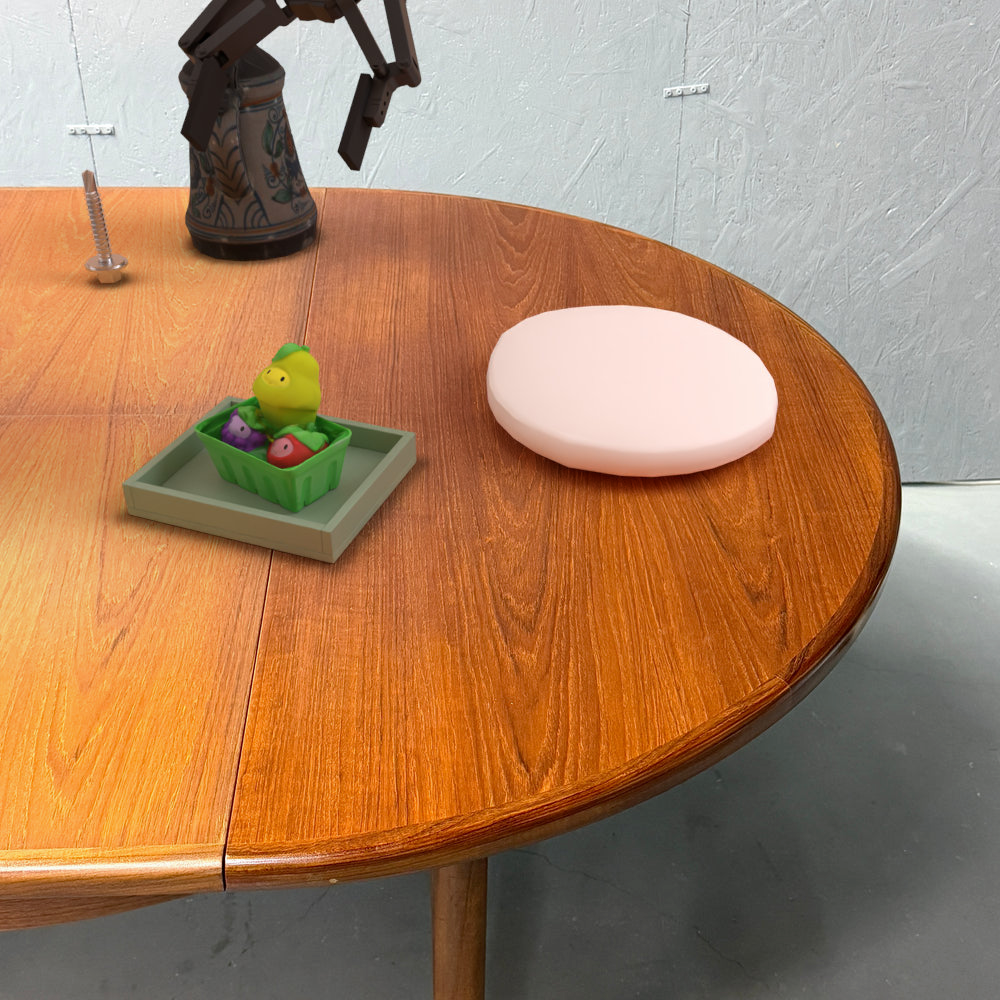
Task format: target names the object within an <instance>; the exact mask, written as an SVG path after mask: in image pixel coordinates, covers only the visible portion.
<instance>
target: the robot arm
mask: <svg viewBox="0 0 1000 1000" xmlns="http://www.w3.org/2000/svg"><path fill="white" fill-rule="evenodd" d="M361 1H362V0H283V2H284V4H285V6H284V7H281V6H280V5H279V3H278V1H277V0H211V1H210V2H209V3H208V4H207V5H206V7H204V9H203V10H202V11H201V12H200V13H199V15H198V16H197V17H196V18H195V20H194V21H193V22H192V23H191V24H190V25H189V26H188V28H187V29H186V30H185V31H184V33H183V34H182V35H181V36H180V38H179V39H178V41H177V45H178V48H180V50H181V51H182V52H183V53H184V54H185V56H186V57H187V58H188V60H189V59H190V60H191V61H192V62H193V63H194V65H195V66H194V69H193V72H192V75H191V78H190V81H189V85H188V87H187V91H186V94H185V95H186V99H187V100H188V99H189V101H190V104H188V108H187V111H186V114H185V116H184V120H183V122H182V126H181V129H180V135H182V136H183V138H184V139H185V140H186V141H187V142H188V144H189V143H190V144H191V145H192V146H193V147H194V148H195V149H196V150H197V151H201V152H206V150H207V147H208V144H209V141H210V138H211V135H212V131H213V128H214V125H215V122H216V119H217V116H218V113H219V110H220V106H221V103H222V100H223V97H224V94H225V91H226V88H227V85H228V81H229V78H228V77H227V76H226V74H225V73H224V72H223V71H224V70H226V69H227V68H228V67H229V66H231V65H232V64H233V63H234V62H235V61H237V60H238V59H239V58H240V57H242V56H243V55H244V54H245V53H247V52H248V51H249V50H250V49H252V48H253V47H254V46H255V45H257V46H258V44H260V42H262V41H263V40H264V39H266V37H268V36H269V35H271V34H272V33H273V32H274V31H275V30H276V29H278V28H279V27H283V28H284V27H287V26H289V25H290V24H292V23H293V22H294V21H295V20H296V19H298V21H299V22H300V21H301V22H313V21H320V22H322V23H326V24H335V23H336V21H338V20H340V19H342V18H343V17H344V19H345V21H346V23H347V25H348V26H349V28H350V31H351V32H352V34H353V36H354V38H355V40H356V42H357V44H358V46H359V48H360V50H361V51H362V54H363V56H364V58H365V60H366V62H367V64H368V65H369V68H370V70H371V71H372V73H373V76H372V75H371V74H370V73H367V72H366V73H365V72H364V73H363V72H361V73H360V74H359V79H358V81H357V84H356V87H355V91H354V95H353V98H352V100H351V104H350V107H349V111H348V114H347V118H346V120H345V123H344V129H343V131H342V135H341V137H340V141H339V144H338V147H337V150H336V151H337V154H338V155H339V157H340V158H341V159H342V160H343V162H344V163H345V164H346V166H347V167H348V169H349V170H350V171H355V172H360V171H361V167H362V165H363V161H364V158H365V154H366V151H367V148H368V144H369V141H370V137H371V134H372V130H373V128H376V129H381V127H383V124H384V123H385V120H386V117H387V113H388V110H389V108H390V103H391V101H392V97H393V94H394V92H396V91H397V90H398V88H400V87H406V86H407V87H409V88H413V89H415V88H417V87H419V86H420V85H421V83H422V75H421V69H420V65H419V60H418V55H417V51H416V46H415V42H414V41H415V40H414V36H413V32H412V27H411V23H410V18H409V13H408V7H407V0H382V2H383V6H384V11H385V17H386V21H387V25H388V30H389V35H390V39H391V45H392V50H393V56H394V60H395V61H391V62H387V60H386V58H385V56H384V54H383V52H382V50H381V48H380V46H379V44H378V43H377V40H376V38H375V37H374V35H373V33H372V32H371V29H370V27H369V26H368V22H367V21H366V20H365V17H364V15H363V14H362V12H361V10H360V7H359V6H358V4H359V3H360V2H361ZM217 52H218V55H217V56H215V53H217Z"/></svg>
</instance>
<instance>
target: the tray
mask: <svg viewBox="0 0 1000 1000" xmlns="http://www.w3.org/2000/svg"><path fill="white" fill-rule="evenodd" d="M245 400H247V398H240V397H235V396H233V395H232V396H231V395H226V397H225V398H224V399H222V400H221V401H220V402H219V403H217V404H216V405H215V406H214V407H213V408H211V409H210V410H209V411H208V412H206V413H205V414H204V415H203V416H201V417H200V418H199V419H198V420H197V421H196V422H195V423H193V424H192V425H191V426H190V427H188V428H187V429H186V430H185V431H184V432H183V433H181V434H180V435H179V436H178V437H176V438H175V439H174V440H173V441H171V442H170V443H169V444H168V445H167V446H165V447H164V448H163V449H161V451H160V452H158V453H156V455H155V456H153V457H152V458H150V460H148V461H147V462H146V463H145V464H144V465H143V466H141V467H140V468H139V469H138V470H137V471H136V472H134V473H133V474H131V476H129V477H128V478H127V479H126V480H125V481H123V482H122V483H121V487H122V492H123V495H124V496H123V497H124V500H125V504H126V509H127V514H128V515H130V516H133V517H138V518H143V519H146V520H151V521H155V522H159V523H163V524H168V525H172V526H175V527H180V528H184V529H188V530H192V531H195V532H196V531H197V532H201V533H204V534H208V535H211V536H212V535H213V536H216V537H221V538H225V539H230V540H233V541H238V542H242V543H246V544H251V545H254V546H258V547H263V548H266V549H271V550H275V551H278V552H279V551H280V552H283V553H287V554H292V555H294V556H295V555H296V556H300V557H304V558H308V559H312V560H316V561H319V562H320V561H321V562H324V563H329V564H332V565H333V564H334V563H335V562H336V561H337V560H338V559H339V558H340V557H341V555H342V554H343V553H344V552H345V550H346V549H347V548H348V547H349V545H350V544H351V543H352V542H353V540H354V539H355V538H356V537H357V536H358V534H359V533H360V532H361V531H362V530H363V528H364V527H365V526H366V525H367V524H368V522H369V521H370V520H371V519H372V517H373V516H374V515H375V514H376V512H377V511H378V510H379V509H380V508H381V506H382V505H383V504H384V503H385V502H386V500H387V499H388V498H389V496H390V495H392V493H393V492H394V490H395V489H396V488H397V487H398V486H399V484H400V483H401V482H402V481H403V479H404V478H405V477H406V476H407V475H408V473H409V472H410V471H411V470H412V468H413V467H414V466H415V465H416V463H417V441H416V440H417V439H416V432H412V431H409V430H404V429H398V428H393V427H387V426H383V425H377V424H372V423H367V422H363V421H358V420H353V419H346V418H341V417H337V416H332V415H327V414H321V413H317V414H316V415H317V416H319V417H322V418H324V419H326V420H329V421H331V422H333V423H336V424H338V425H340V426H343V427H345V428H348V429H350V431H351V432H352V435H351V438H350V442H349V444H348V446H347V448H346V453H345V457H344V462H343V467H342V471H341V476H340V481H339V485H338V487H336V488H334V489H331V490H329V491H328V492H327V493H326V494H325V495H323V496H322V497H320V498H319V499H317V500H316V501H314V502H312V503H311V504H309V505H306V506H303V508H302V509H301V510H300V511H298V512H296V513H294V512H292V511H290V510H287V509H285V508H283V507H282V506H281V505H280V504H277V503H273V502H271V501H269V500H266V499H264V498H262V497H261V496H260V495H259V494H256V493H252V492H250V491H248V490H245V489H243V488H241V487H240V486H239V485H238V484H234V483H231V482H229V481H227V480H224V479H222V478H221V476H220V474H219V472H218V470H217V468H216V466H215V464H214V462H213V460H212V459H211V457H210V455H209V453H208V451H207V449H206V447H205V445H204V443H203V441H201V440H200V438H199V437H198V435H197V433H196V432H195V430H194V428H195V426H196V425H197V424H199V423H201V422H202V421H204V420H205V419H207V418H210V417H212V416H214V415H216V414H218V413H220V412H222V411H224V410H226V409H228V408H230V407H232V406H234V405H236V404H239V403H241V402H244V401H245Z"/></svg>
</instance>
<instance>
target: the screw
mask: <svg viewBox="0 0 1000 1000" xmlns="http://www.w3.org/2000/svg"><path fill="white" fill-rule="evenodd" d="M81 177H82V184H83V188H84V191H85V192H84V193H83V195H85V198H84V201H85V202H86V203H85V205H84V206H86V207H87V208H86V211H87V212H88V213H87V216H89V219H88V221H90V224H89V226H91V229H90V231H92V234H91V235H92V236H93V239H92V240H93V241H94V244H93V246H95V249H94V251H96V254H95V255H94V256H91V257H90V258H88V259H87V260H86V262H85V263H84V268H85V270H86V271H88V272H89V273H94V274H95V275H96V278H97V280H98V281H99V283H100V284H115V283H117V282H119V281H121V280H122V279H123V278H122V273H121V271H122V270H123V269H125V268H127V267H128V266H129V259H128V258H127V257H126V256H124V255H122V254H119V253H113V248H111V247H112V244H111V239H110V238H109V237H110V234H109V233H108V232H109V229H108V228H107V227H108V224H107V219H106V218H105V217H106V214H105V213H104V212H105V209H104V208H103V207H104V204H103V203H102V202H103V199H102V198H101V196H102V195H101V194H100V193H99V190H98V187H97V182H96V177H95V172H94V171H91V170H89V169H86V170H84V171H83V172H81Z"/></svg>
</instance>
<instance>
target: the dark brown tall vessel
mask: <svg viewBox="0 0 1000 1000" xmlns="http://www.w3.org/2000/svg"><path fill="white" fill-rule="evenodd" d="M217 55H218V52H217V53H215V56H217ZM194 66H195V65H194V63H193V62H192V61H191V60H190V59H189V58H188V60H186V62H185V63H184V64H183V66H182V68H181V69H180V71H179V73H178V76H177V78H178V83H179V86H180V87H181V91H182V92H183V93H184V94H185V95H186V91H187V87H188V85H189V81H190V78H191V75H192V72H193V69H194ZM223 72H224V73H225V74H226V76H227V77H228V78H229V81H228V85H227V88H226V91H225V94H224V97H223V100H222V103H221V106H220V110H219V113H218V116H217V119H216V122H215V125H214V128H213V131H212V135H211V138H210V141H209V144H208V147H207V150H206V152H201V151H197V150H196V149H195V148H194V147H193V146H192V145H191V144H190V143H189V142H188V159H189V161H188V162H189V196H188V205H187V208H186V211H185V215H184V224H185V226H186V228H187V230H188V233H189V235H190V238H191V241H192V246H193V247H194V248H195V249H196V250H197V251H198V252H199V253H200V254H202V255H204V256H205V255H206V256H209V257H211V258H213V259H216V260H228V261H229V260H230V261H238V262H239V261H240V262H248V261H264V260H270V259H277V258H280V257H281V258H282V257H287V256H290V255H292V254H294V253H297V252H299V251H302V250H304V249H306V248H307V247H309V246H310V245H311V244H313V243H314V241H315V239H316V236H317V235H316V234H317V223H318V216H319V215H318V214H319V213H318V207H317V203H316V201H315V200H314V198H313V197H312V193H311V192H310V189H309V187H308V183H307V181H306V178H305V175H304V173H303V169H302V166H301V163H300V158H299V155H298V151H297V147H296V143H295V140H294V135H293V132H292V129H291V125H290V121H289V117H288V113H287V108H286V105H285V101H284V95H283V90H284V87H285V80H286V74H287V73H286V70H285V67H283V65H282V64H281V63H280V62H279V61H278V60H277V59H276V58H275V57H274V56H273V55H271V54H270V53H269V52H268V51H266V50H264V49H263V48H262V47H260V46H258V44H257V45H255V46H254V47H253V48H252V49H250V50H249V51H248V52H247V53H245V54H244V55H243V56H242V57H240V58H239V59H238V60H237V61H235V62H234V63H233V64H232V65H231V66H229V67H228V68H227V69H226V70H224V71H223ZM187 103H188V105H189V104H190V101H189V99H188V98H187Z"/></svg>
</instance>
